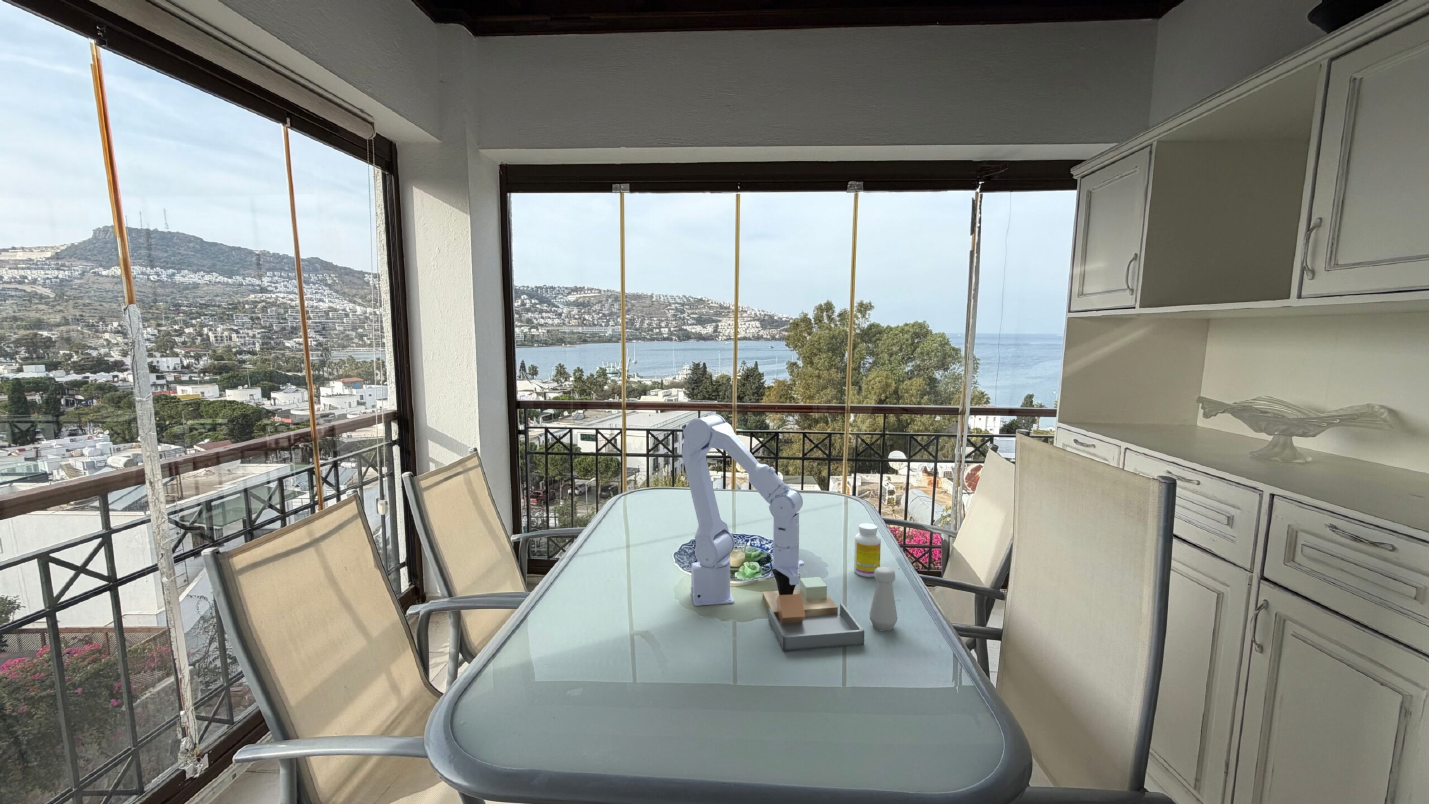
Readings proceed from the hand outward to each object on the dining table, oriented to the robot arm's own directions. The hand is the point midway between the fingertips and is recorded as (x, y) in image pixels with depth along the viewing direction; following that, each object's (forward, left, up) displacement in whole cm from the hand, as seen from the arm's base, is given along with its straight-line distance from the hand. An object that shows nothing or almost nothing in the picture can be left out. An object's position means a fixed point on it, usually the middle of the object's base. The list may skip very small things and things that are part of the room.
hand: (785, 601), depth 126 cm
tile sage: (+8, +5, -1) cm, 9 cm away
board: (+4, +3, -3) cm, 6 cm away
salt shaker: (+19, -8, -3) cm, 21 cm away
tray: (+4, -9, -3) cm, 10 cm away
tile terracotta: (0, -3, -1) cm, 3 cm away
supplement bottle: (+27, +19, -3) cm, 33 cm away
